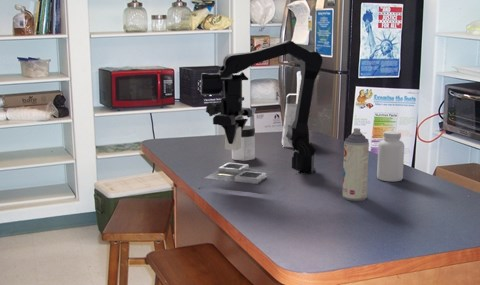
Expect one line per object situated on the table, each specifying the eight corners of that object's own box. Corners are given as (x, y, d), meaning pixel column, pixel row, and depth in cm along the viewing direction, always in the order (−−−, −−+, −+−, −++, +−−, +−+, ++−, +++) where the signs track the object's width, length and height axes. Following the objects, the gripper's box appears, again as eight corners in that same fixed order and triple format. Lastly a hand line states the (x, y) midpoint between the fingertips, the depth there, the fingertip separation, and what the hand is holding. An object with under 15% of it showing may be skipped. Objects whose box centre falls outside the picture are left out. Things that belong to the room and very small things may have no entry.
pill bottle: (404, 177, 200) (407, 131, 196) (399, 183, 192) (402, 135, 189) (379, 174, 203) (382, 129, 200) (374, 180, 196) (376, 133, 193)
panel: (275, 175, 203) (275, 166, 202) (258, 188, 188) (258, 179, 188) (224, 169, 209) (224, 162, 209) (204, 181, 195) (203, 173, 194)
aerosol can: (345, 193, 183) (347, 125, 178) (368, 195, 180) (371, 127, 176) (339, 199, 176) (341, 130, 172) (363, 202, 174) (366, 131, 170)
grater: (309, 147, 243) (311, 96, 239) (282, 147, 243) (283, 96, 239) (307, 141, 253) (308, 92, 249) (281, 141, 253) (282, 92, 249)
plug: (241, 147, 203) (241, 124, 201) (236, 150, 199) (236, 127, 198) (229, 146, 205) (229, 124, 203) (225, 149, 201) (224, 126, 199)
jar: (239, 164, 216) (238, 130, 213) (226, 160, 222) (226, 127, 220) (260, 161, 221) (260, 128, 218) (247, 156, 227) (247, 124, 225)
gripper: (221, 89, 210) (222, 135, 213) (197, 96, 193) (197, 146, 196) (252, 91, 206) (252, 137, 209) (230, 98, 189) (230, 149, 192)
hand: (233, 142), depth 202 cm, fingers closed on plug, 4 cm apart
